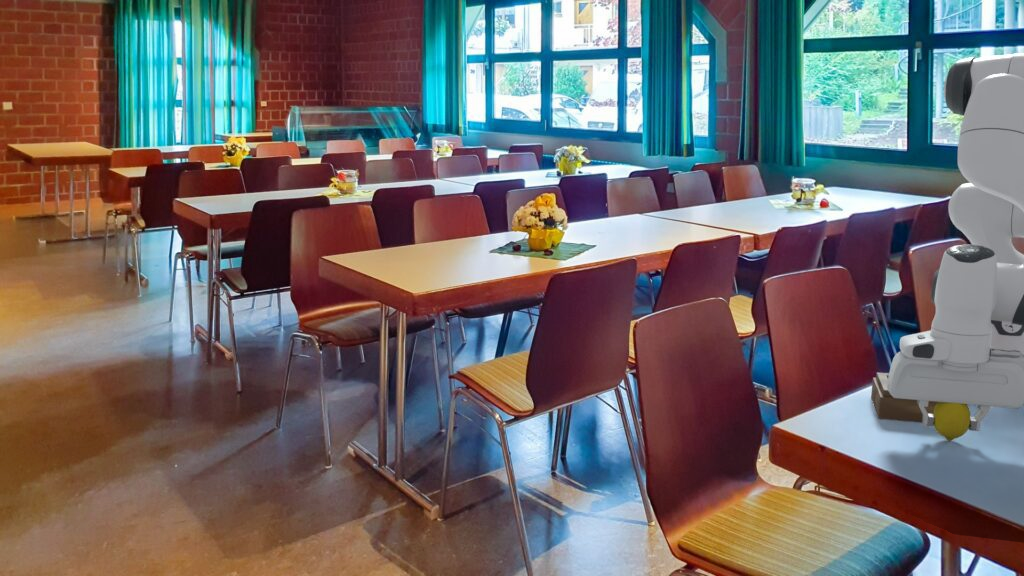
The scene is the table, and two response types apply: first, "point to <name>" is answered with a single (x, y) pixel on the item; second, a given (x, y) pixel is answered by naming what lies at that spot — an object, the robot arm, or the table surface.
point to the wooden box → (895, 403)
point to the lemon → (951, 419)
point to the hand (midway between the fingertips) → (950, 427)
